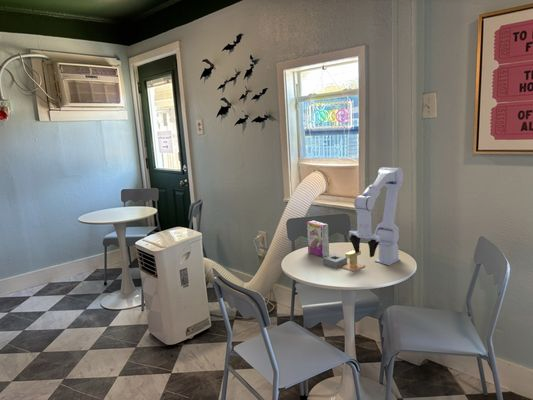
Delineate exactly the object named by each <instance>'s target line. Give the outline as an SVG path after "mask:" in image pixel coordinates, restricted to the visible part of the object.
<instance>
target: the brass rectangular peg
mask: <svg viewBox="0 0 533 400" xmlns="http://www.w3.org/2000/svg"><path fill="white" fill-rule="evenodd" d="M361 251H362V250H361V249H360V250H359V252H358V253H355V250H354V249H353V250H350V251H349V252H345V257H346V258H347V259H349V263H350V267H353V268H354V267H356V266H357V263H358V256H359V255H361V254H362V252H361Z"/></svg>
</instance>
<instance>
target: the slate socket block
mask: <svg viewBox="0 0 533 400" xmlns="http://www.w3.org/2000/svg"><path fill="white" fill-rule="evenodd" d="M322 264H323V265H325V266H328V267H330V268H335V269H338V268H341V267H342V266H345V265H347V264H348V258H346V256H344V255H340V254H336V253H331V254H329V256H326V257H322Z"/></svg>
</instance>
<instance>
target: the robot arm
mask: <svg viewBox="0 0 533 400" xmlns="http://www.w3.org/2000/svg"><path fill="white" fill-rule="evenodd" d="M404 175H405V174H404V171H403V168H402V167H384V166H381V167H380V168H379V169H378V171H377V177H376V179H375V180H374V182H373V184H370V185H368V186H367V187H366V188H365V190H364V191H363V193H362V194H361V195H358V196H356V197H355V199H354V203H353V205H354V208H355V213H356V215H357V216H356V221H357V222H356V223H357V224H356V225H357V230H349V231H348V236H349V241H350V242H351V244H352V247H353V250H355V253H358V252H359V250H361V249H360V248H361V246H360V244H361V243H360V242H361V239H365V240H369V241H368V242H367V244H368V248H369V257H370V258H373V257H374V256H375V254H376V250H377V248H378V258H376V259H374V262H375V263H380V264H383V265H387V266H390V265H391V266H392V264H395V263H397V262H399V261H400V260H401V258H399V249H400V247H399V245H398V242H399V239H400V232H399V231H400V228H399V227H398V226H397V224H395V218H396V217H395V216H396V210H397V204H398V196H399V191H400V188H401V187H402V186H403V182H404ZM384 186H385V187H386V189H387V190H386V197H385V204H384V207H383V209H384V210H383V215H382V216H383V217H382V221H381V222H380V223H378V224H377V225H376V228H375V231H374V233H372V210H373V209H374V206H375V203H376V199H377V198H378V197H379V195H380V194H381V189H382V188H383V187H384Z"/></svg>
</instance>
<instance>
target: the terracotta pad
mask: <svg viewBox="0 0 533 400" xmlns="http://www.w3.org/2000/svg"><path fill="white" fill-rule="evenodd" d="M365 267H366V265H364V264H361V263H358V262H357V266H356V267H354V268H353V267H350V262H349V263H347V264H345V265H343V266H341V269H345V270H347V271H350V272H353V273H355V272H357V271H359V270H361V269H363V268H365Z"/></svg>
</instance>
